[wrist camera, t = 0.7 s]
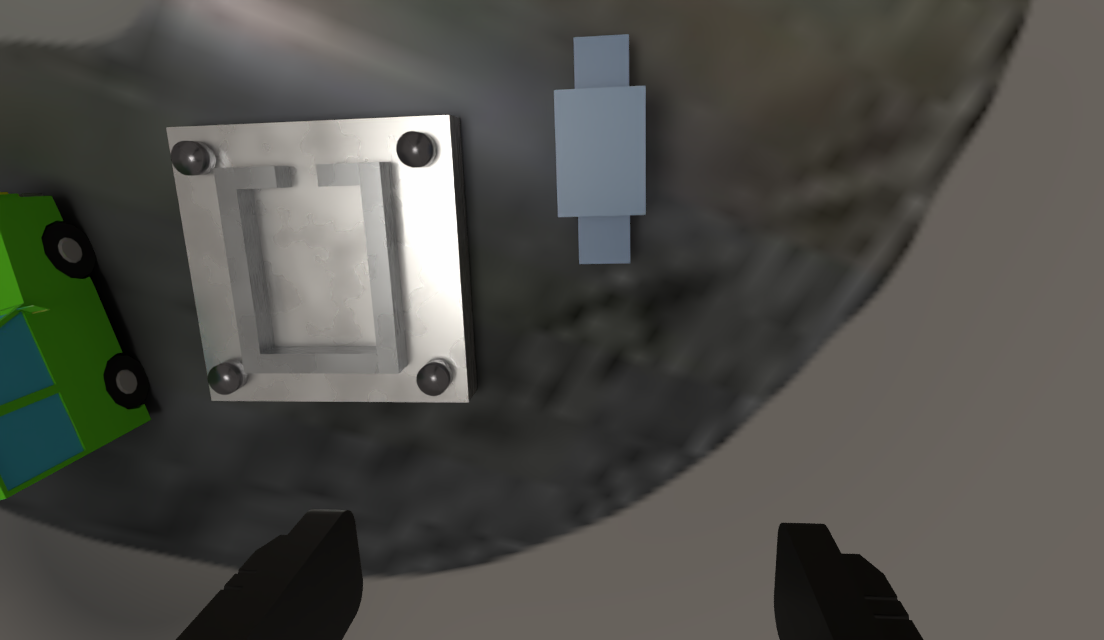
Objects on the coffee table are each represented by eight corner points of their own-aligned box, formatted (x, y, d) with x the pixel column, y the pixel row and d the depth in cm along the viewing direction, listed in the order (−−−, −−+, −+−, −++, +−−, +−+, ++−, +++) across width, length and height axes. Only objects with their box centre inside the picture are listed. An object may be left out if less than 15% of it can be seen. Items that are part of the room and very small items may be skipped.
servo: (564, 46, 30) (551, 21, 25) (641, 42, 30) (645, 16, 25) (569, 257, 33) (559, 276, 27) (642, 256, 32) (645, 275, 27)
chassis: (192, 129, 33) (145, 125, 30) (459, 117, 32) (440, 112, 28) (233, 387, 36) (194, 410, 33) (477, 389, 35) (462, 412, 32)
